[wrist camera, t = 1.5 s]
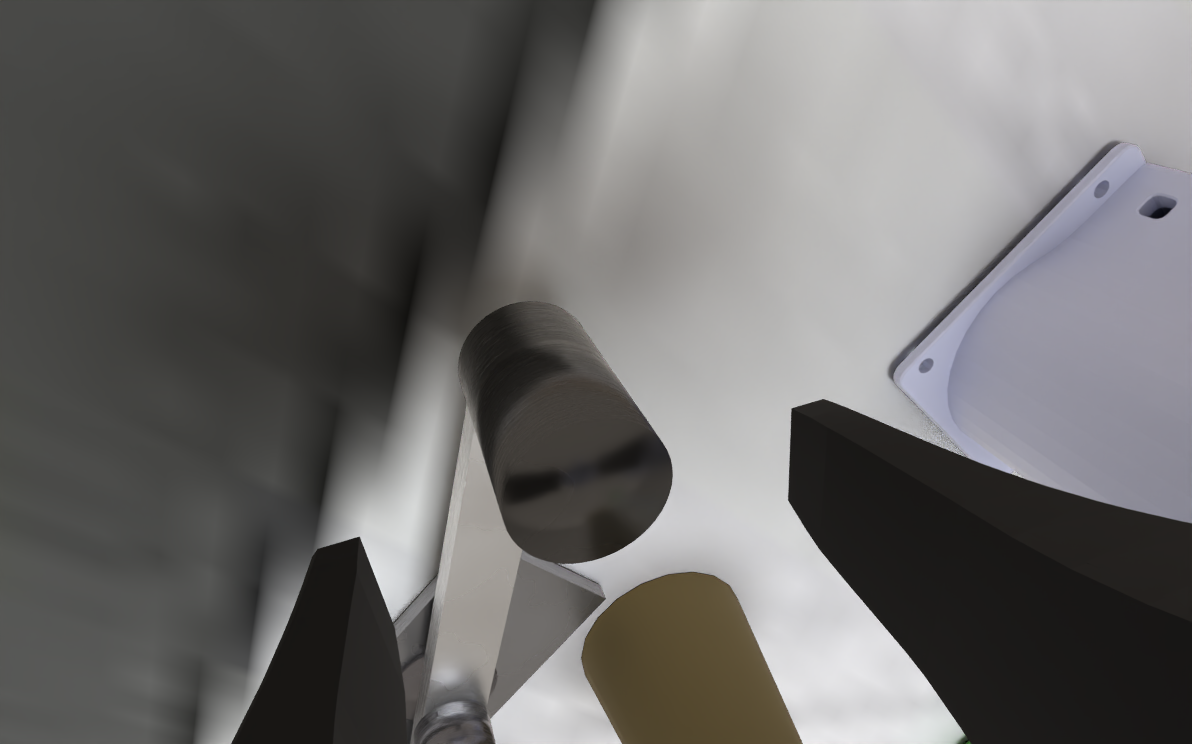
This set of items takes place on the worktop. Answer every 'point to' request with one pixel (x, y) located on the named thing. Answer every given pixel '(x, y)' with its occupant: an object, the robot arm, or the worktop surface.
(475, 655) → the lever
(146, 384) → the worktop surface
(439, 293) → the worktop surface
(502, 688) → the base plate
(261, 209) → the worktop surface
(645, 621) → the cork
